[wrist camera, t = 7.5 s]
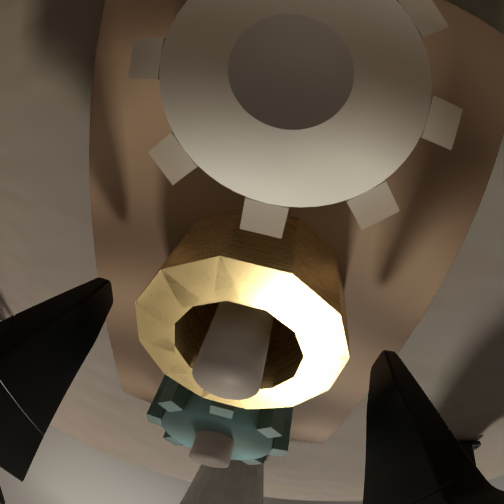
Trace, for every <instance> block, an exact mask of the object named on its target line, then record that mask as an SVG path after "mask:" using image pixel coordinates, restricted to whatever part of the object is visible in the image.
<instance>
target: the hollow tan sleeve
mask: <svg viewBox="0 0 504 504" xmlns="http://www.w3.org/2000/svg"><path fill="white" fill-rule="evenodd" d="M243 207H244V206H240V207H237V208H233V209H230V210H226V211H223V212H219V213H216V214H212V215H209V216H205V217H202V218H199V219H198V221H197V222H196V223H195V224H194V226H193V227H192V228H191V229H190V231H189V232H188V233H187V234H186V235H185V237H184V238H183V239H182V240H181V242H180V243H179V244H178V245H177V246H176V248H175V249H174V250H173V251H172V252H171V254H170V255H169V256H168V258H167V259H166V260H165V262H164V263H163V264H162V266H161V267H160V268H159V270H158V271H157V273H156V274H155V275H154V277H153V278H152V279H151V281H150V282H149V283H148V285H147V286H146V288H145V289H144V290H143V292H142V293H141V295H140V296H139V297H138V299H137V300H136V302H135V308H136V318H137V327H138V335H139V341H140V342H141V344H142V345H143V346H144V348H145V349H146V350H147V352H148V353H149V354H150V356H151V357H152V358H153V360H154V361H155V362H156V364H157V365H158V366H159V368H160V369H161V370H162V371H163V373H164V374H166V375H167V376H169V377H170V378H172V379H173V380H175V381H176V382H178V383H179V384H181V385H183V386H184V387H186V388H187V389H189V390H191V391H192V392H194V393H196V394H197V395H199V396H201V397H202V398H206V399H209V400H213V401H217V402H220V403H224V404H228V405H232V406H236V407H240V408H244V409H265V408H283V407H292V406H295V405H297V404H299V403H302V402H304V401H306V400H308V399H310V398H312V397H315V396H317V395H319V394H321V393H323V392H325V391H327V390H329V389H330V388H331V386H332V385H333V383H334V381H335V380H336V378H337V377H338V375H339V374H340V372H341V371H342V369H343V368H344V366H345V364H346V363H347V361H348V359H349V358H350V350H349V336H348V324H347V313H346V303H345V294H344V289H343V284H342V280H341V275H340V271H339V267H338V263H337V258H336V254H335V251H334V250H333V249H332V248H331V247H330V246H329V245H328V244H327V243H326V242H325V241H323V240H322V239H321V238H320V237H319V236H318V235H317V234H316V233H315V232H314V231H313V230H312V229H311V228H309V227H308V226H307V225H306V224H305V223H304V222H303V221H302V220H301V219H300V218H299V217H295V216H291V215H287V218H286V222H285V226H284V230H283V234H282V238H281V239H280V238H276V237H272V236H268V235H264V234H259V233H255V232H251V231H247V230H243V229H240V223H241V218H242V212H243ZM222 301H230V302H234V303H238V304H242V305H246V306H250V307H254V308H258V309H262V310H266V311H268V312H269V313H270V314H272V315H273V316H274V317H276V318H277V319H278V320H280V321H281V322H282V323H283V324H277V325H272V330H271V335H270V340H269V346H268V351H267V356H266V361H265V367H264V372H263V377H262V382H261V387H260V390H259V392H258V393H257V394H256V395H255V396H253V397H251V398H248V399H243V400H230V399H225V398H221V397H218V396H215V395H213V394H211V393H209V392H207V391H205V390H204V389H203V388H201V387H200V386H199V385H198V384H197V383H196V381H195V380H194V378H193V375H192V369H193V367H194V364H195V362H196V359H197V357H198V354H199V352H200V349H201V347H202V344H203V342H204V339H205V337H206V334H207V332H208V329H209V327H210V325H211V322H212V320H213V317H214V315H215V312H216V310H217V308H215V307H214V305H213V303H216V302H222Z"/></svg>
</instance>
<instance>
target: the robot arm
mask: <svg viewBox="0 0 504 504" xmlns="http://www.w3.org/2000/svg"><path fill="white" fill-rule="evenodd" d="M112 305H113V292H112V285H111V282H110V281H109V280H107V279H104V278H101V277H99V278H96V279H94V280H91V281H89V282H87V283H85V284H82V285H80V286H78V287H75V288H73V289H71V290H69V291H66V292H64V293H62V294H60V295H57V296H55V297H53V298H51V299H48V300H46V301H44V302H42V303H40V304H37V305H35V306H33V307H31V308H29V309H26V310H24V311H22V312H20V313H18V314H16V315H15V316H11V317H9V318H7V319H5V320H3V321H0V467H1V468H3V469H4V470H6V471H7V472H8V473H10V474H11V475H13V476H14V477H16V478H18V479H19V480H20V481H22V482H23V480H24V478H25V476H26V474H27V471H28V469H29V467H30V465H31V462H32V460H33V458H34V456H35V454H36V451H37V449H38V447H39V445H40V443H41V441H42V439H43V437H44V436H43V435H44V434H45V432H46V430H47V428H48V426H49V424H50V422H51V420H52V418H53V416H54V414H55V413H56V411H57V409H58V407H59V405H60V403H61V401H62V399H63V397H64V395H65V394H66V392H67V390H68V388H69V386H70V384H71V383H72V381H73V379H74V377H75V376H76V374H77V372H78V370H79V368H80V367H81V365H82V363H83V362H84V360H85V358H86V356H87V355H88V353H89V351H90V350H91V348H92V346H93V344H94V343H95V341H96V339H97V337H98V335H99V333H100V330H101V328H102V326H103V324H104V322H105V320H106V318H107V316H108V313H109V311H110V309H111V307H112ZM448 429H449V428H448V426H447V425H446V423H445V422H444V420H443V419H442V417H441V416H440V414H439V413H438V411H437V410H436V409H435V407H434V406H433V404H432V403H431V401H430V400H429V398H428V397H427V395H426V394H425V393H424V391H423V390H422V388H421V387H420V385H419V384H418V383H417V381H416V380H415V378H414V377H413V376H412V374H411V373H410V371H409V370H408V369H407V367H406V366H405V365H404V363H403V362H402V360H401V359H400V358H399V356H398V355H397V354H396V352H394V351H389V350H383V351H382V352H381V353H380V355H379V356H378V358H377V359H376V361H375V362H374V364H373V365H372V367H371V371H370V382H369V393H368V403H367V425H366V464H365V482H364V496H363V504H504V491H501V490H499V489H497V488H495V487H493V486H492V485H491V484H490V483H489V482H488V481H487V480H486V479H485V477H484V476H483V475H482V473H481V472H480V471H479V470H478V468H477V467H476V463H475V457H474V452H473V451H474V450H475V449H477V448H478V447H479V446H480V445H481V443H480V441H472V442H461V443H458V441H457V440H456V438H455V437H454V435H453V434H452V432H451V431H450V430H448ZM0 504H5V501H4V497H3V494H2V491H1V487H0Z"/></svg>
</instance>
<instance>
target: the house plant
mask: <svg viewBox="0 0 504 504" xmlns="http://www.w3.org/2000/svg"><path fill="white" fill-rule="evenodd" d="M180 504H263V464H255V465H248V464H246V463H244V462H243V461H241V460H230V464H229V466H228V467H227V468H214V467H209V466H205V465H201V467H200V468H199V470H198V472H197V474H196V476H195V478H194V479H193V481H192V483H191V485H190V487H189V489H188V490H187V492H186V494H185V496H184V498H183V499H182V501H181V503H180Z"/></svg>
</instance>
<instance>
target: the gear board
mask: <svg viewBox="0 0 504 504" xmlns="http://www.w3.org/2000/svg"><path fill="white" fill-rule="evenodd" d="M503 134H504V34H502V33H501V32H499V31H498V30H496V29H495V28H493V27H492V26H490V25H489V24H487V23H485V22H484V21H482V20H481V19H479V18H477V17H475V16H474V15H472V14H470V13H469V12H467V11H465V10H463V9H461V8H459V7H458V6H456V5H454V4H452V3H450V2H448V1H446V0H105V4H104V9H103V14H102V19H101V24H100V30H99V36H98V42H97V49H96V57H95V65H94V74H93V84H92V96H91V111H90V140H89V168H90V197H91V213H92V225H93V236H94V246H95V254H96V262H97V270H98V277H101V278H104V279H107V280H109V281H110V282H111V285H112V292H113V305H112V307H111V309H110V311H109V313H108V316H107V318H106V323H107V328H108V332H109V337H110V341H111V346H112V350H113V354H114V358H115V362H116V366H117V370H118V374H119V377H120V381H121V385H122V388H123V391H124V392H125V393H127V394H130V395H132V396H135V397H137V398H140V399H143V400H145V401H148V402H151V406H150V408H149V410H148V412H147V417H148V421H149V422H151V423H154V424H156V425H159V426H163V428H164V429H165V434H164V437H163V438H164V439H166V440H167V441H169V442H170V443H172V444H174V445H185V446H187V447H189V448H191V451H190V454H189V456H190V458H191V459H192V460H194V461H196V462H198V463H200V464H202V465H205V466H209V467H214V468H227V467H228V466H229V464H230V460H241V461H243V462H244V463H246V464H248V465H255V464H263V460H264V456H266V455H267V454H268V455H273V456H279V457H283V456H284V455H285V454H286V452H287V451H288V445H289V439H292V440H298V441H305V442H312V443H320V444H323V443H324V442H325V441H326V440H327V439H328V438H329V436H330V435H331V434H332V433H333V432H334V431H335V430H336V429H337V428H338V427H339V426H340V425H341V424H342V422H343V421H344V420H345V419H346V418H347V417H348V416H349V414H350V413H351V412H352V411H353V410H354V409H355V408H356V406H357V405H358V404H359V403H360V402H361V400H362V399H363V398H364V397H365V396H366V394H367V393H368V392H369V382H370V371H371V367H372V365H373V364H374V362H375V361H376V359H377V358H378V356H379V355H380V353H381V352H382V351H383V350H389V351H394V352H396V354H398V352H399V351H400V349H401V348H402V346H403V345H404V343H405V342H406V341H407V339H408V338H409V336H410V335H411V333H412V332H413V330H414V328H415V327H416V325H417V324H418V322H419V321H420V319H421V317H422V316H423V314H424V313H425V311H426V309H427V308H428V306H429V304H430V303H431V301H432V299H433V298H434V296H435V294H436V292H437V291H438V289H439V287H440V285H441V284H442V282H443V280H444V278H445V276H446V275H447V273H448V271H449V269H450V267H451V265H452V263H453V261H454V259H455V257H456V255H457V253H458V251H459V249H460V247H461V245H462V243H463V241H464V239H465V237H466V234H467V232H468V230H469V228H470V226H471V223H472V221H473V219H474V216H475V214H476V212H477V209H478V207H479V204H480V202H481V199H482V197H483V194H484V192H485V189H486V186H487V184H488V181H489V178H490V175H491V172H492V169H493V166H494V163H495V160H496V157H497V154H498V151H499V148H500V144H501V141H502V137H503ZM240 206H244V207H243V212H242V218H241V223H240V229H243V230H247V231H251V232H255V233H259V234H264V235H268V236H272V237H276V238H280V239H281V238H282V234H283V230H284V226H285V222H286V218H287V215H291V216H295V217H299V218H300V219H301V220H302V221H303V222H304V223H305V224H306V225H307V226H308V227H309V228H311V229H312V230H313V231H314V232H315V233H316V234H317V235H318V236H319V237H320V238H321V239H322V240H323V241H325V242H326V243H327V244H328V245H329V246H330V247H331V248H332V249H333V250H334V251H335V254H336V258H337V263H338V267H339V271H340V275H341V280H342V284H343V289H344V294H345V303H346V313H347V324H348V336H349V350H350V358H349V359H348V361H347V363H346V364H345V366H344V368H343V369H342V371H341V372H340V374H339V375H338V377H337V378H336V380H335V381H334V383H333V385H332V386H331V388H330V389H329V390H327V391H325V392H323V393H321V394H319V395H317V396H315V397H312V398H310V399H308V400H306V401H304V402H302V403H299V404H297V405H295V406H292V407H283V408H265V409H244V408H240V407H236V406H232V405H228V404H224V403H220V402H217V401H213V400H209V399H206V398H202V397H201V396H199V395H197V394H196V393H194V392H192V391H191V390H189V389H187V388H186V387H184V386H183V385H181V384H179V383H178V382H176V381H175V380H173V379H172V378H170V377H169V376H167V375H166V374H164V373H163V371H162V370H161V369H160V368H159V366H158V365H157V364H156V362H155V361H154V360H153V358H152V357H151V356H150V354H149V353H148V352H147V350H146V349H145V348H144V346H143V345H142V344H141V342H140V341H139V335H138V327H137V318H136V308H135V302H136V300H137V299H138V297H139V296H140V295H141V293H142V292H143V290H144V289H145V288H146V286H147V285H148V283H149V282H150V281H151V279H152V278H153V277H154V275H155V274H156V273H157V271H158V270H159V268H160V267H161V266H162V264H163V263H164V262H165V260H166V259H167V258H168V256H169V255H170V254H171V252H172V251H173V250H174V249H175V248H176V246H177V245H178V244H179V243H180V242H181V240H182V239H183V238H184V237H185V235H186V234H187V233H188V232H189V231H190V229H191V228H192V227H193V226H194V224H195V223H196V222H197V221H198V219H199V218H202V217H205V216H209V215H212V214H216V213H219V212H223V211H226V210H230V209H233V208H237V207H240ZM213 305H214V307H215V308H217V310H216V312H215V315H214V317H213V320H212V322H211V325H210V327H209V329H208V332H207V334H206V337H205V339H204V342H203V344H202V347H201V349H200V352H199V354H198V357H197V359H196V362H195V364H194V367H193V369H192V375H193V378H194V380H195V381H196V383H197V384H198V385H199V386H200V387H201V388H203V389H204V390H205V391H207V392H209V393H211V394H213V395H215V396H218V397H221V398H225V399H230V400H243V399H248V398H251V397H253V396H255V395H256V394H257V393H258V392H259V390H260V387H261V382H262V377H263V372H264V367H265V361H266V356H267V351H268V346H269V340H270V335H271V330H272V325H277V324H283V323H282V322H281V321H280V320H278V319H277V318H276V317H274V316H273V315H272V314H270V313H269V312H268V311H266V310H262V309H258V308H254V307H250V306H246V305H242V304H238V303H234V302H230V301H222V302H216V303H213Z"/></svg>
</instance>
